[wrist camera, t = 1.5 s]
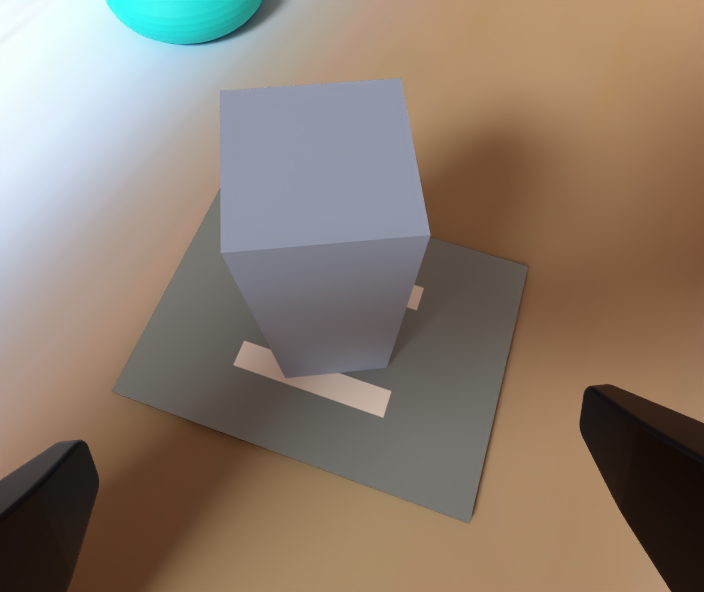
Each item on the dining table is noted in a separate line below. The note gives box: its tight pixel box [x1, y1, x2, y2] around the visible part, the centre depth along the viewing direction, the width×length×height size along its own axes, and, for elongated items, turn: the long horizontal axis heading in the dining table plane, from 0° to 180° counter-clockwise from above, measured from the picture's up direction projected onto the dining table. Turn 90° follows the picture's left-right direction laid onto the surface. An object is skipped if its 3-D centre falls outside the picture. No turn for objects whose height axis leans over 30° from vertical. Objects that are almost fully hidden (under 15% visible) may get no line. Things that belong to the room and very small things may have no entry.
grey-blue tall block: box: [220, 78, 430, 378], centre depth 17 cm, size 4×4×12 cm
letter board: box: [112, 189, 528, 523], centre depth 23 cm, size 12×16×1 cm
